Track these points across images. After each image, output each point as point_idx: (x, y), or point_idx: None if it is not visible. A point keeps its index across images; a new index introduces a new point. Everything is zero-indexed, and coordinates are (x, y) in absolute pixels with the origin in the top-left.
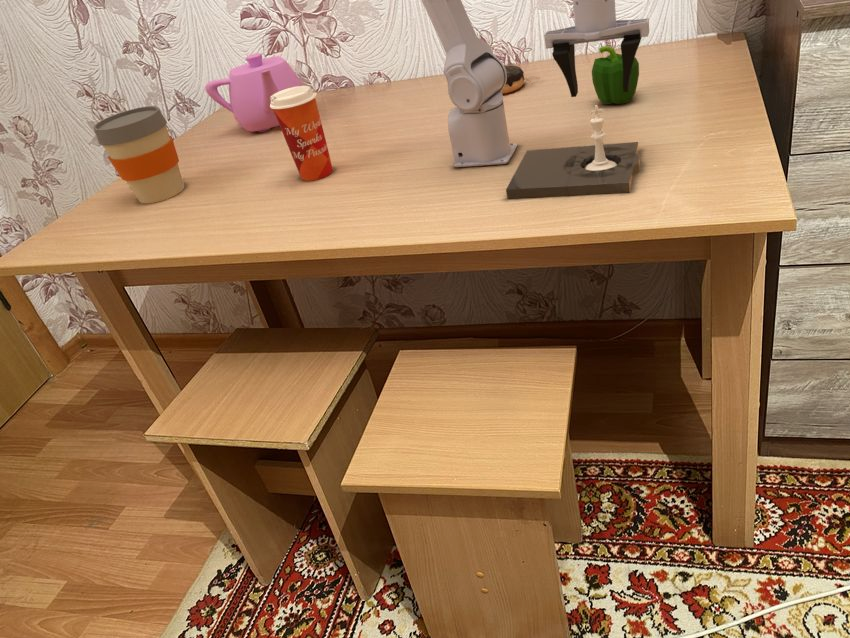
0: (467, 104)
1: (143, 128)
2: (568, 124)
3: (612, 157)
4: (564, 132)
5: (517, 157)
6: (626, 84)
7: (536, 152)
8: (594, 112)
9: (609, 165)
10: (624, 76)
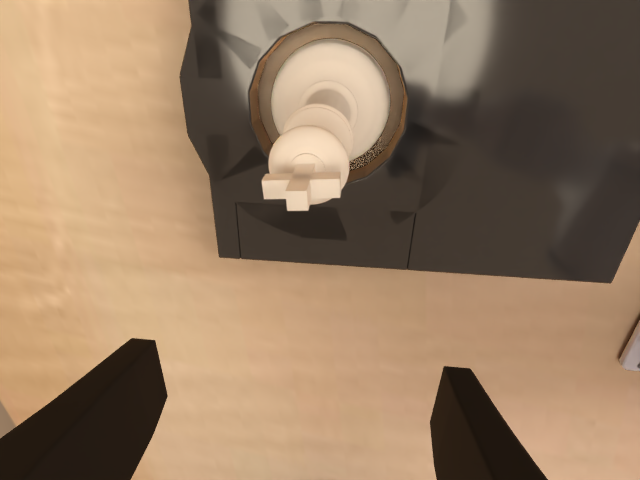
0: None
1: None
2: None
3: None
4: None
5: (630, 286)
6: (105, 364)
7: (576, 256)
8: (314, 175)
9: (292, 91)
10: (78, 406)
